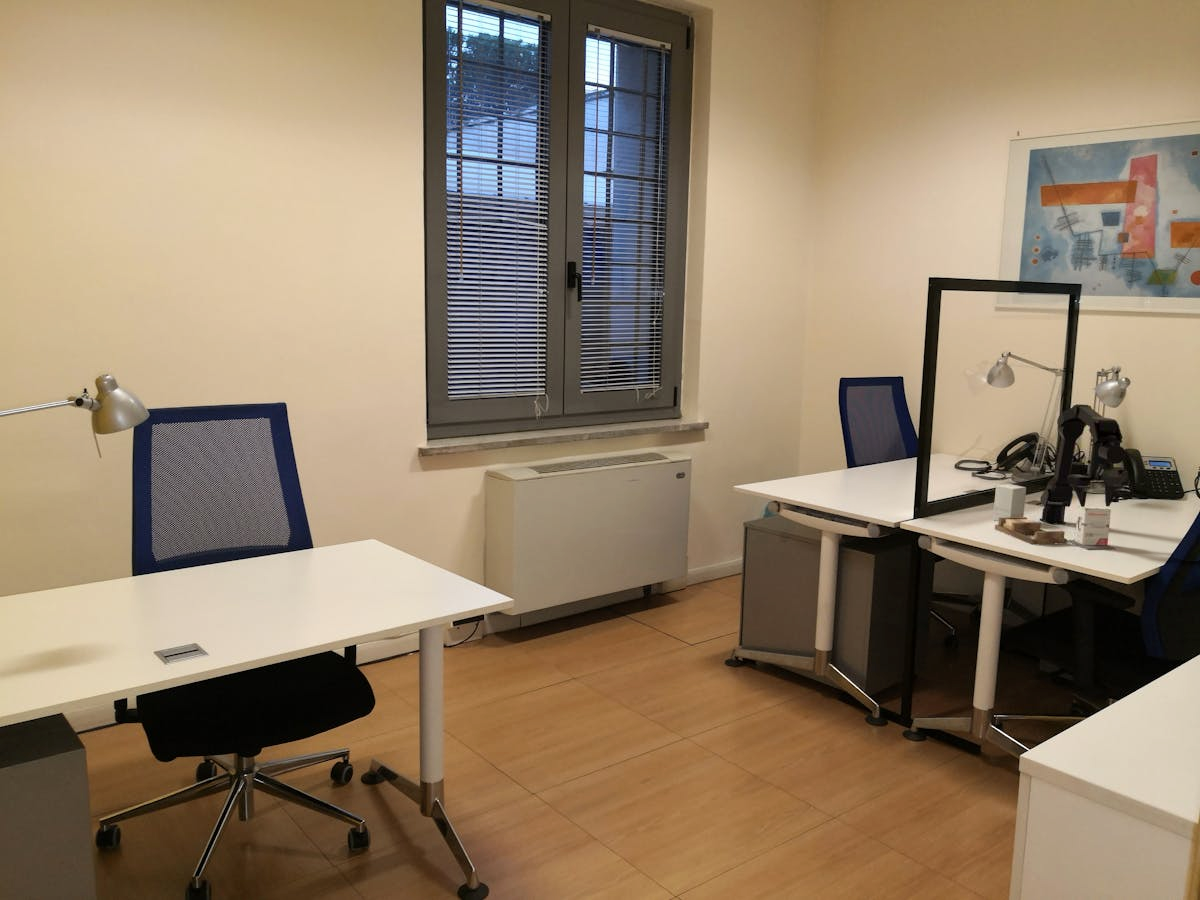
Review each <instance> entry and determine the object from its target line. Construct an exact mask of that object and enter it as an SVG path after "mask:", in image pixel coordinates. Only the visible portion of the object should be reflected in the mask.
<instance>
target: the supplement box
mask: <svg viewBox="0 0 1200 900" xmlns="http://www.w3.org/2000/svg"><path fill="white" fill-rule="evenodd" d="M1026 493H1027V487H1025V486H1020V485H1017V484H1011V483H1006V484H998V485H996V486H995V495H994V504H993V515H992V517H993V518H992V520H993V521H997V522H999V518H1000V517H1025V516H1024V515H1025V506H1026V505H1025V504H1026V495H1027V494H1026Z"/></svg>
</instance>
